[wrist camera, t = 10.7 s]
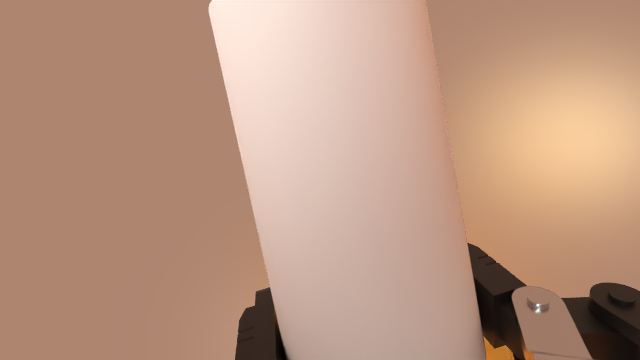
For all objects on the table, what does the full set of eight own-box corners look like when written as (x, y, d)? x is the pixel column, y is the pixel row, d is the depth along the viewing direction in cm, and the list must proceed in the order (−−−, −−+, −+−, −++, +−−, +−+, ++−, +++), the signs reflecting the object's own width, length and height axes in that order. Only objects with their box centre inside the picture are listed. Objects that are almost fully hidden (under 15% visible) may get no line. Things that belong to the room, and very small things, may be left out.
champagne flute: (387, 422, 20) (302, 24, 11) (506, 500, 15) (508, -54, 7) (326, 547, 15) (108, 38, 7) (469, 712, 11) (352, -164, 2)
